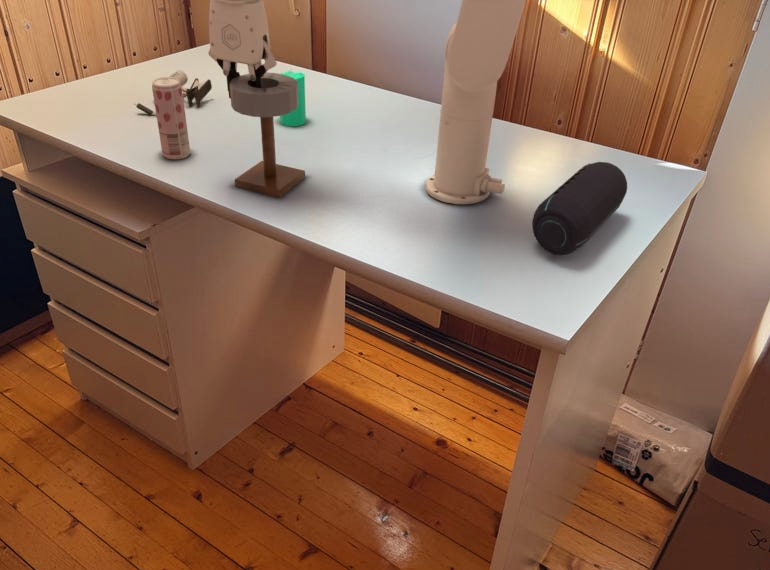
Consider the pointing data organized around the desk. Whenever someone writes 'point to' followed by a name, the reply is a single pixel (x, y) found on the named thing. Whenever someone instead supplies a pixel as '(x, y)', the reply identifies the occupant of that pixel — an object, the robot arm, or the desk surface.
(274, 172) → the rack
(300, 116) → the candle
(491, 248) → the desk surface
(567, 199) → the portable speaker
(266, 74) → the tape
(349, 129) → the desk surface
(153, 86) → the beverage can
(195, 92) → the clip-on lamp
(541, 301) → the desk surface
